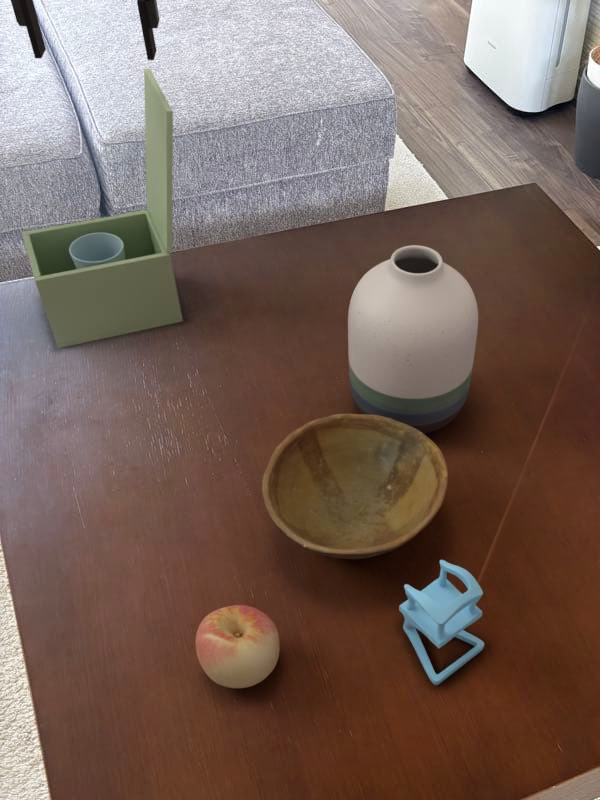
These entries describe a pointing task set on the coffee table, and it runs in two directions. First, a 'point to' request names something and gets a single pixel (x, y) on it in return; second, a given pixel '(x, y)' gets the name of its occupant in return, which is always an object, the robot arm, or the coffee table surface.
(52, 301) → the chest
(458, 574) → the chair
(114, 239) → the cup
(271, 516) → the bowl
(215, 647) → the apple
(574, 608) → the coffee table surface
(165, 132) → the lid
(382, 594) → the coffee table surface
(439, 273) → the vase
